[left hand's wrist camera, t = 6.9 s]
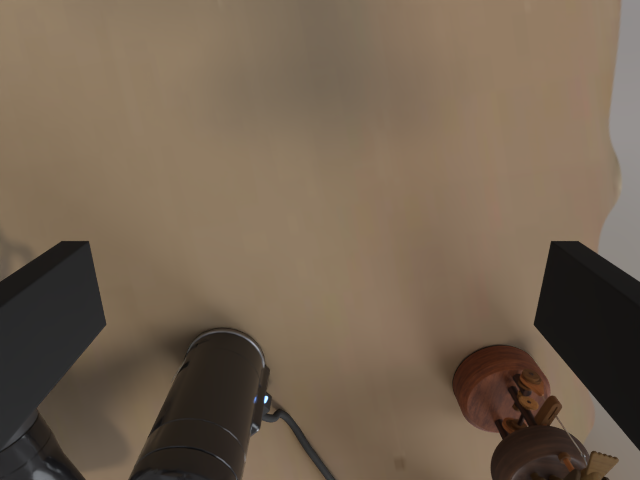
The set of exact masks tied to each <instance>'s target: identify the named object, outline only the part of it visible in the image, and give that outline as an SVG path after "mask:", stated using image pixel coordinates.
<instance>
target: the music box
mask: <svg viewBox="0 0 640 480" xmlns="http://www.w3.org/2000/svg"><path fill="white" fill-rule="evenodd" d="M453 390H454V394H455V396H456V399H457V401H458V404H459V406H460V408H461V411H462V413H463V415H464V417H465V418H466V420H467V421H468V422H469V423H470V424H472V425H473V426H475V427H476V428H479V429H481V430H484V431H488V432H495V433H500V435H501V437H502V439H503V440H502V441H501V442H500V443H499V445H498V446H497V447H496V449H495V451H494V453H493V456H492V460H491V475H492V479H493V480H609V479H608V478H607V477H604V476H605V475H606V474H607V473H608V472H609V471H610V470H611V469H612V468H613V467H614V466H615V465H616V464H617V463H618V461H619V460H618V458H617V457H612V456H611V455H609V456H607V455H606V454H602V453H600V452H599V453H597V452H596V451H592V452H591V454H590V456H589V454H588V452H587V450H586V449H585V447H584V446H583V445H582V443H581V442H580V441H579V440H578V439H577V438H575V437H574V436H573V435H571V434H570V433H568V432H567V430H566V429H565V427H564V426H563V425H562V423H561V422H560V420H559V419H558V417H557V414H558V413H559V411H560V410H561V408H562V405H561V404H560V402H559V401H558V399H557V398H556V397H555V396H550V385H549V382H548V380H547V378H546V376H545V375H544V374H543V372H542V371H541V369H540V368H539V367H538V365H537V364H536V363H535V361H534V360H533V359H532V357H531V356H530V355H528V354H527V353H526V352H524V351H522V350H520V349H518V348H515V347H511V346H492V347H488V348H484V349H482V350H479V351H477V352H475V353H473V354H472V355H470V356H469V357H468V358H467V359H465V360H464V361H463V362H462V364H461V365H460V366H459V368H458V369H457V371H456V373H455V376H454V380H453ZM555 417H556V418H557V420H558V421H559V423H560V424H561V425H562V427H563V428H564V430H565V431H564V430H562V429H559V428H556V427H552V426H550V424H551V423H552V421H553V420H554V419H555ZM527 426H528V427H527Z"/></svg>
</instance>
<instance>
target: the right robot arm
mask: <svg viewBox="0 0 640 480" xmlns="http://www.w3.org/2000/svg"><path fill="white" fill-rule="evenodd" d="M269 372H270V369H269V368H268V367H267V366H266V365H265V359H264V355H263V352H262V350H261V348H260V347H259V345H258V344H257V343H256V342H255V341H254V340H253V339H252V338H251V337H249V336H248V335H246V334H245V333H242V332H240V331H237V330H234V329H227V328H219V329H212V330H209V331H206V332H204V333H202V334H201V335H199V336H198V337H197V338H196V339H194V341H193V342H192V343H191V345H190V347H189V349H188V351H187V354H186V356H185V359H184V362H183V363H182V365H181V367H180V368H179V370H178V371H177V373H178V374H177V373H176V374H175V376H176V375H177V376H176V379H175V381H174V383H173V385H172V387H171V389H170V391H169V393H168V396H167V398H166V400H165V402H164V404H163V406H162V408H161V411H160V413H159V415H158V417H157V419H156V421H155V423H154V425H153V428H152V430H151V432H150V434H149V436H148V438H147V441H146V443H145V445H144V447H143V449H142V451H141V453H140V455H139V458H138V460H137V462H136V464H135V466H134V469H133V471H132V473H131V475H130V477H129V479H128V480H242V477H243V472H244V466H245V461H246V456H247V450H248V445H249V440H250V437H251V436H252V435H254V434H255V433H256V432H258V430H259V429H260V426H261V420H263V421H266V422H275V421H277V420H278V419H279V417H280V418H282V419H283V420H285V421H286V422H287V424H288V425H289V426H290V427H291V429H292V430H293V432H294V433H295V435H296V437H297V438H298V440H299V442H300V443H301V445H302V447H303V448H304V450H305V451H306V452H307V454H308V455H309V457H310V458H311V459H312V461H313V462H314V463H315V465H316V466H317V467H318V469H319V470H320V471H321V473H322V474H323V476H324V477H325V478H326V480H335V479H334V478H333V476H332V475H331V474H330V472H329V471H328V469H327V468H326V467H325V465H324V464H323V462H322V461H321V460H320V458H319V457H318V456H317V454H316V453H315V452H314V450H313V449H312V447H311V446H310V444H309V443H308V441H307V440H306V438H305V436H304V435H303V433H302V431H301V430H300V428H299V427H298V425H297V424H296V423H295V421H294V420H293V419H292V418H291V416H290V415H289V414H287V413H286V412H284V411H282V410H277V411H275V412H274V414H273V415H272V414H267V412H269V411H270V405H271V398H272V397H271V396H270V395H269V394H268V393H267V392H266V390H267V384H268V378H269ZM175 376H174V377H173V379H174V378H175ZM172 381H173V380H172ZM0 480H86V479H85V478H84V477H83V476H82V474H81V473H80V472H79V471H78V470H77V468H76V467H75V466H74V465H73V464H72V462H71V461H70V460H69V459H68V458H67V456H66V455H65V454H64V452H63V451H62V449H61V447H60V446H59V444H58V442H57V440H56V438H55V436H54V434H53V432H52V431H51V429H50V428H49V426H48V425H47V423H46V422H45V420H44V419H43V417H42V416H41V415H40V413H39V412H38V410H37V409H35V410H34V411H33V413H32V414H31V415H30V416H29V417H28V418H27V420H26V421H25V422H24V423H23V424H22V426H21V427H20V428H19V429H18V430H17V432H16V433H15V434H14V435H13V436H12V437H11V439H10V440H9V441H8V442H7V443H6V445H5V446H4V447H3V448H2V449H1V451H0Z"/></svg>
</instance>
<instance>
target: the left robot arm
mask: <svg viewBox="0 0 640 480" xmlns="http://www.w3.org/2000/svg"><path fill="white" fill-rule="evenodd" d="M105 326H106V321H105V316H104V311H103V307H102V302H101V297H100V292H99V287H98V283H97V278H96V273H95V268H94V264H93V259H92V254H91V249H90V245H89V241H61V242H60V243H58V244H57V245H55V246H54V247H52V248H51V249H49V250H48V251H46V252H45V253H43V254H42V255H40V256H39V257H37V258H36V259H34V260H33V261H31V262H30V263H28V264H27V265H25V266H24V267H22V268H21V269H19V270H17V271H16V272H14V273H13V274H11V275H10V276H8V277H7V278H5V279H4V280H2V281H1V282H0V451H1V449H2V448H3V447H4V446H5V445H6V443H7V442H8V441H9V440H10V439H11V437H12V436H13V435H14V434H15V433H16V432H17V430H18V429H19V428H20V427H21V426H22V424H23V423H24V422H25V421H26V420H27V418H28V417H29V416H30V415H31V414H32V413H33V411H34V410H35V409H36V408H37V407H38V405H39V404H40V403H41V402H42V401H43V399H44V398H45V397H46V396H47V395H48V393H49V392H50V391H51V390H52V389H53V388H54V386H55V385H56V384H57V383H58V382H59V380H60V379H61V378H62V377H63V376H64V374H65V373H66V372H67V371H68V370H69V368H70V367H71V366H72V365H73V364H74V363H75V361H76V360H77V359H78V358H79V357H80V355H81V354H82V353H83V352H84V351H85V349H86V348H87V347H88V346H89V345H90V343H91V342H92V341H93V340H94V339H95V338H96V336H97V335H98V334H99V333H100V332H101V330H102V329H103V328H104V327H105ZM534 326H535V327H536V328H537V329H538V330H539V332H540V333H541V334H542V335H543V336H544V338H545V339H546V340H547V341H548V342H549V343H550V345H551V346H552V347H553V348H554V349H555V351H556V352H557V353H558V354H559V355H560V357H561V358H562V359H563V360H564V361H565V363H566V364H567V365H568V366H569V367H570V368H571V370H572V371H573V372H574V373H575V374H576V376H577V377H578V378H579V379H580V380H581V382H582V383H583V384H584V385H585V386H586V388H587V389H588V390H589V391H590V392H591V393H592V395H593V396H594V397H595V398H596V399H597V401H598V402H599V403H600V404H601V405H602V407H603V408H604V409H605V410H606V411H607V412H608V414H609V415H610V416H611V417H612V418H613V420H614V421H615V422H616V423H617V424H618V426H619V427H620V428H621V429H622V430H623V432H624V433H625V434H626V435H627V436H628V437H629V439H630V440H631V441H632V442H633V443H634V445H635V446H636V447H637V448H638V449H639V450H640V282H639V281H638V280H636V279H635V278H633V277H632V276H630V275H628V274H627V273H626V272H624V271H622V270H621V269H619V268H618V267H616V266H615V265H613V264H612V263H610V262H609V261H607V260H606V259H604V258H603V257H601V256H600V255H598V254H597V253H595V252H594V251H592V250H591V249H589V248H588V247H586V246H585V245H583V244H582V243H580V242H579V241H551V244H550V249H549V254H548V259H547V264H546V268H545V273H544V278H543V283H542V287H541V292H540V297H539V302H538V307H537V311H536V316H535V321H534Z"/></svg>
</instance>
